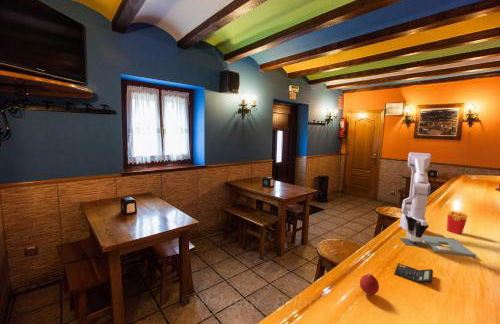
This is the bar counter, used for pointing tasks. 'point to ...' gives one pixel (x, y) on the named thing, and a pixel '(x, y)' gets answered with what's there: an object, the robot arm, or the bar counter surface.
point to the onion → (369, 284)
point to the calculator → (414, 274)
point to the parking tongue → (407, 242)
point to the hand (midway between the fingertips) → (414, 233)
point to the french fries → (456, 222)
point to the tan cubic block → (413, 237)
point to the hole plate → (453, 249)
